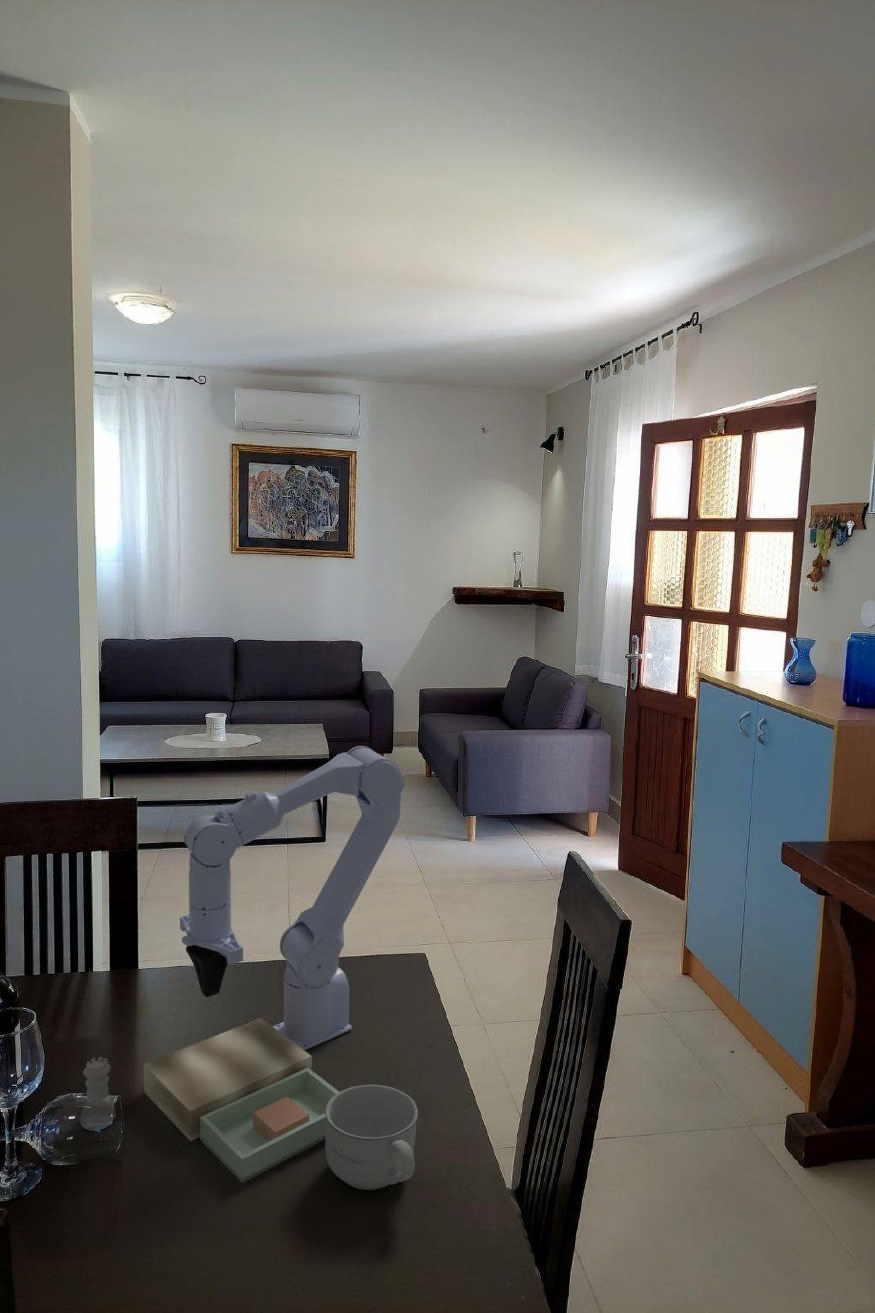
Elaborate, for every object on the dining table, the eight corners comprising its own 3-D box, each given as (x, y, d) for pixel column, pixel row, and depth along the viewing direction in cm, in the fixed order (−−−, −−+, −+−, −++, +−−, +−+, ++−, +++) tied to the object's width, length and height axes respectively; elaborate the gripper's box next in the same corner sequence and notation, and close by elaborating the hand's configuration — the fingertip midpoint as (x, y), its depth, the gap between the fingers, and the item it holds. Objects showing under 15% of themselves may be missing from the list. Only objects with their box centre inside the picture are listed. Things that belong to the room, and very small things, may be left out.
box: (307, 1088, 120) (307, 1067, 119) (352, 1124, 113) (353, 1102, 112) (199, 1139, 109) (199, 1117, 109) (242, 1183, 102) (242, 1159, 101)
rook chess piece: (104, 1136, 109) (102, 1075, 108) (71, 1130, 110) (70, 1070, 109) (123, 1113, 114) (122, 1055, 113) (92, 1108, 114) (91, 1050, 113)
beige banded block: (260, 1043, 130) (260, 1017, 130) (311, 1083, 121) (311, 1056, 120) (144, 1092, 118) (143, 1064, 118) (190, 1141, 109) (190, 1111, 108)
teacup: (314, 1153, 107) (314, 1091, 106) (397, 1132, 111) (398, 1072, 110) (348, 1236, 94) (349, 1167, 93) (441, 1208, 99) (443, 1142, 98)
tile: (309, 1115, 110) (309, 1130, 111) (286, 1096, 114) (286, 1110, 114) (274, 1132, 107) (274, 1147, 107) (253, 1112, 111) (253, 1127, 111)
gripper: (159, 893, 127) (161, 983, 128) (209, 926, 116) (210, 1024, 118) (204, 881, 131) (205, 968, 133) (256, 912, 121) (256, 1006, 123)
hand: (210, 993), depth 126 cm, fingers closed
